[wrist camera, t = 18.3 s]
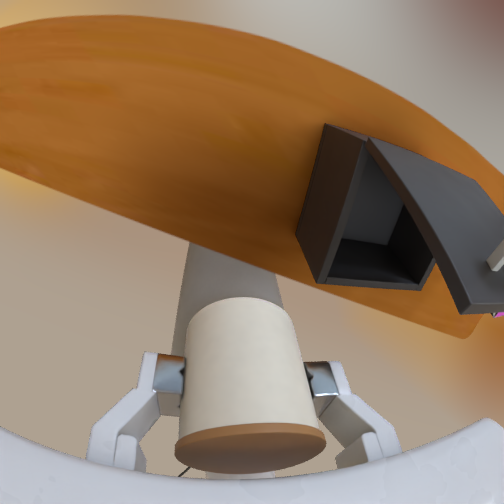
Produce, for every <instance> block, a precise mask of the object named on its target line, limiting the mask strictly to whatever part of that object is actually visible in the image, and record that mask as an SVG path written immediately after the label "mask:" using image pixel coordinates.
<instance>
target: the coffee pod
mask: <svg viewBox="0 0 504 504" xmlns="http://www.w3.org/2000/svg"><path fill="white" fill-rule="evenodd" d="M184 357H185V370H184V373H183V377H184V382H183V395H182V400H181V404H180V419H179V439H178V441H177V443H176V444H175V457H176V458H177V460H178V461H180V462H181V463H183V464H184V465H187V466H189V467H192V468H195V469H198V470H202V471H207V472H213V473H221V474H254V473H264V472H270V471H275V470H280V469H285V468H288V467H292V466H295V465H298V464H300V463H303V462H305V461H308V460H310V459H312V458H313V457H315V456H317V455H318V454H319V453H321V452H322V451H323V450H324V448H325V447H326V440H325V436H324V434H323V432H322V431H321V430H320V429H319V425H318V421H317V417H316V413H315V408H314V404H313V400H312V396H311V392H310V388H309V384H308V380H307V376H306V372H305V368H304V364H303V360H302V356H301V353H300V349H299V345H298V341H297V337H296V333H295V329H294V326H293V322H292V320H291V318H290V317H289V315H288V314H287V313H286V312H285V311H284V310H283V309H282V308H280V307H279V306H277V305H275V304H273V303H271V302H269V301H266V300H262V299H258V298H251V297H235V298H228V299H224V300H220V301H217V302H214V303H211V304H210V305H208V306H206V307H204V308H203V309H201V310H200V311H199V312H197V313H196V314H195V315H194V317H193V318H192V319H191V321H190V322H189V324H188V327H187V332H186V342H185V352H184Z"/></svg>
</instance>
